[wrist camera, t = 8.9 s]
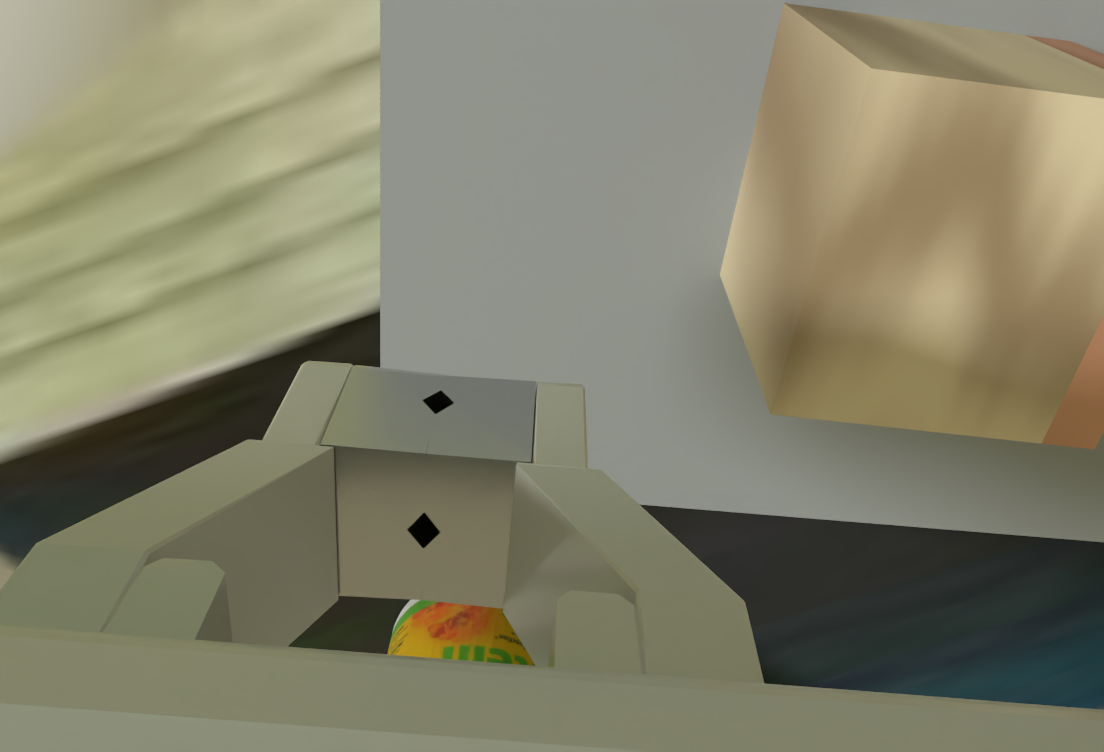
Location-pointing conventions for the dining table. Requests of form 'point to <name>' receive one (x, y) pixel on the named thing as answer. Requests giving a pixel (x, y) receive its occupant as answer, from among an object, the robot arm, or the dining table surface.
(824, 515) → the slate mat
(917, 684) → the dining table surface
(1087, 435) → the birch block
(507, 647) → the supplement bottle
